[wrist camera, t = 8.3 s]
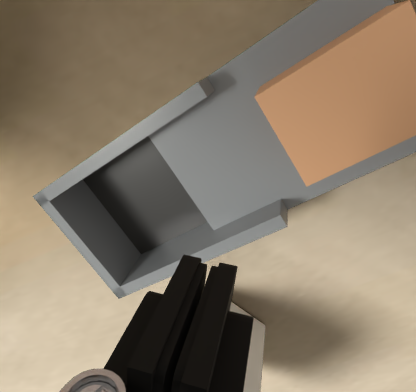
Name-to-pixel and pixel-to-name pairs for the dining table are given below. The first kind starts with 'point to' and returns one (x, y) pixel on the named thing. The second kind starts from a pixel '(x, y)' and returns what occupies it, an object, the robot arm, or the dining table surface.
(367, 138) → the block
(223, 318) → the robot arm
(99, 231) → the gray cradle tray
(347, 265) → the dining table surface
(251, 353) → the milk carton
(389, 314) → the dining table surface
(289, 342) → the dining table surface
